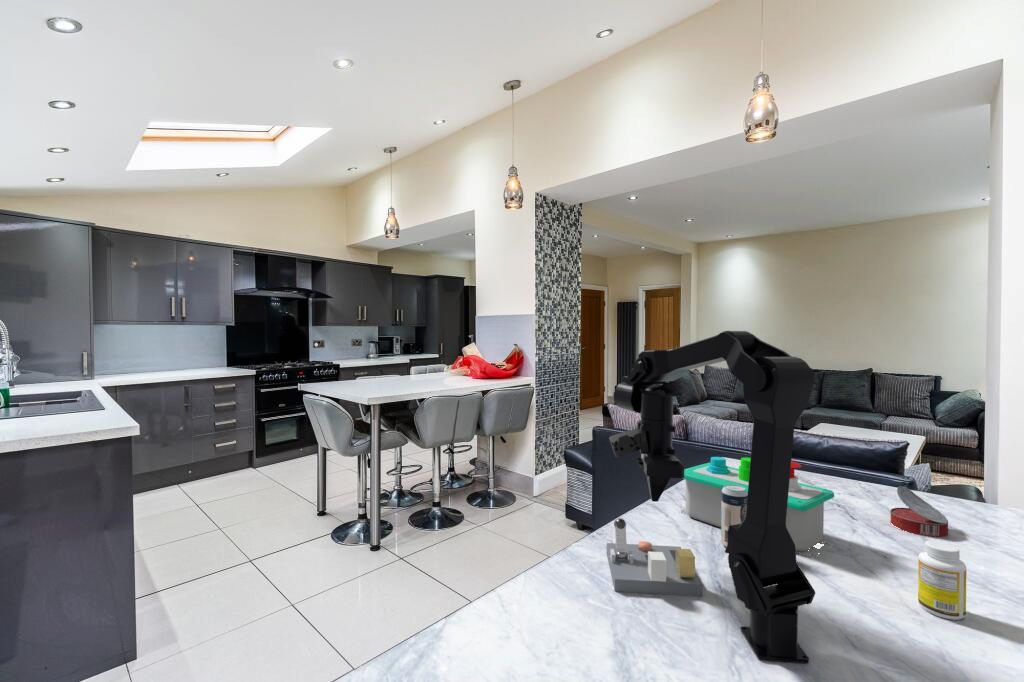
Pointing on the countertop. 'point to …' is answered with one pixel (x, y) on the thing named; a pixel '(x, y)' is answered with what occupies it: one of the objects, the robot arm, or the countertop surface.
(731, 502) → the beer can
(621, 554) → the toggle lever
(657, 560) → the white block
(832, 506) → the countertop surface
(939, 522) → the canned food
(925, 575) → the supplement bottle
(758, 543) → the robot arm
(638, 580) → the panel
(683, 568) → the brushed brass brick
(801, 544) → the control panel
